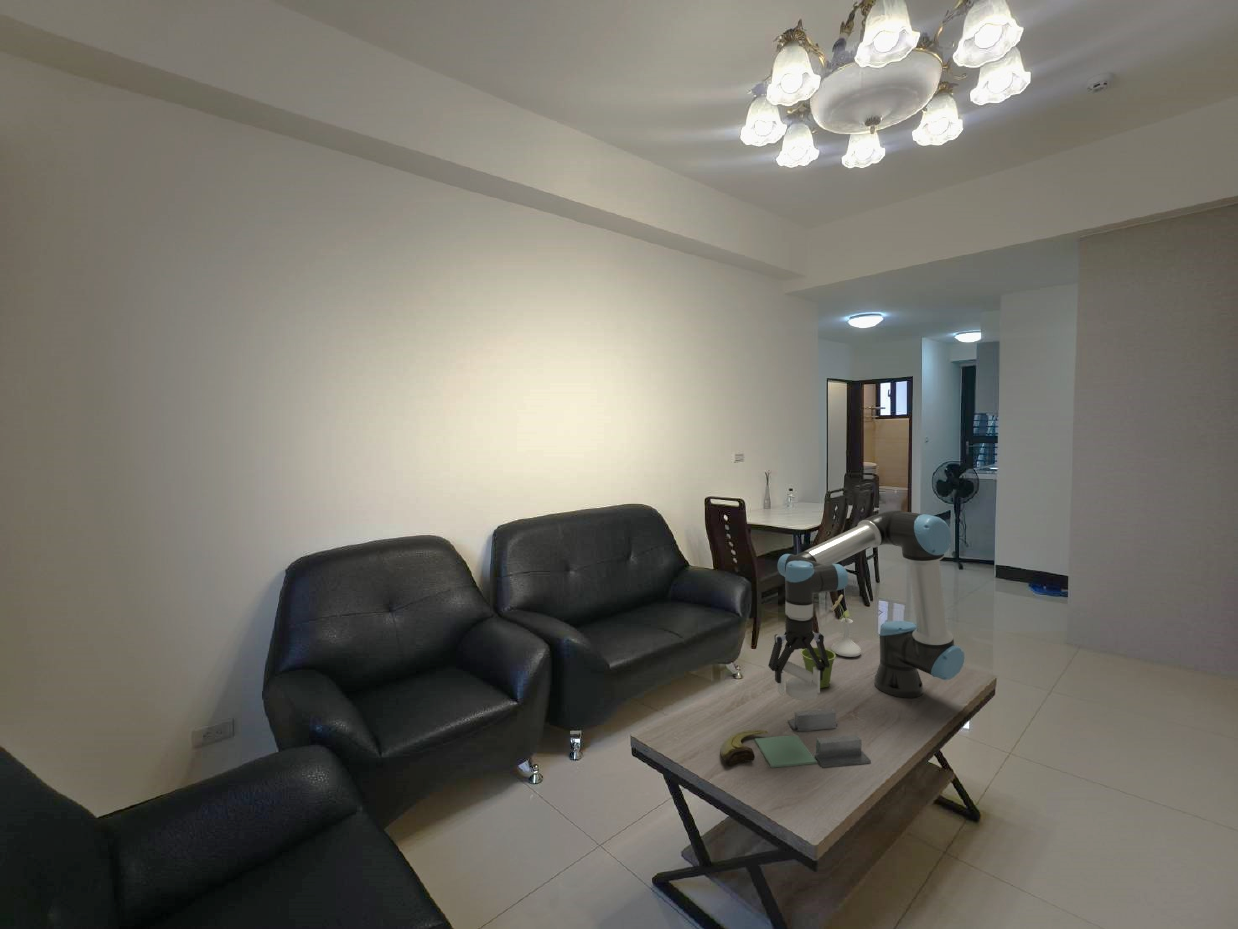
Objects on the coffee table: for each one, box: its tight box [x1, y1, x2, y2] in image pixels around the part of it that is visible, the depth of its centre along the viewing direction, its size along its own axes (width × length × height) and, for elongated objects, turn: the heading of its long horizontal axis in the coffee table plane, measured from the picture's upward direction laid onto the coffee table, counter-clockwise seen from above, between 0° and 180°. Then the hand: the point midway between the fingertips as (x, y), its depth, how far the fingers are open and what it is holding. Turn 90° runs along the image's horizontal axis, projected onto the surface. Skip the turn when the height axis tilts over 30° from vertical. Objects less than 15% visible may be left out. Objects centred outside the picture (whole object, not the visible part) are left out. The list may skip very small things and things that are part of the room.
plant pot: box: [800, 646, 837, 689], centre depth 193 cm, size 12×12×11 cm
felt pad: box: [754, 734, 818, 769], centre depth 154 cm, size 13×13×1 cm
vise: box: [787, 708, 872, 769], centre depth 158 cm, size 14×23×5 cm, turn 6°
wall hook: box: [782, 660, 818, 702], centre depth 154 cm, size 9×10×10 cm
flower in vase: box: [830, 594, 863, 658], centre depth 217 cm, size 13×11×25 cm
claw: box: [720, 729, 768, 766], centre depth 156 cm, size 20×10×3 cm, turn 152°
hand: (798, 692), depth 155 cm, fingers closed on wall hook, 10 cm apart
